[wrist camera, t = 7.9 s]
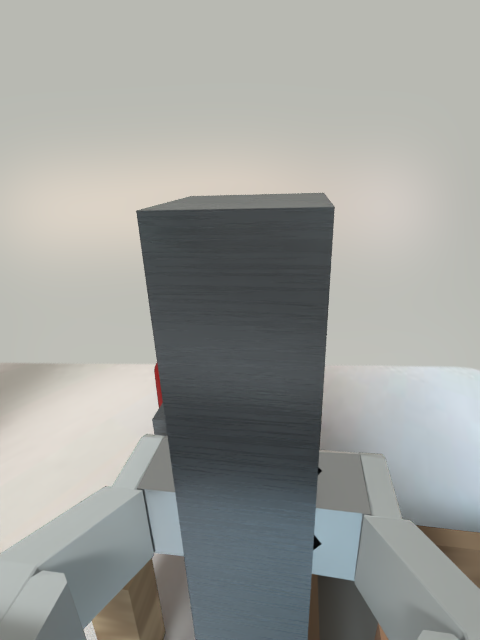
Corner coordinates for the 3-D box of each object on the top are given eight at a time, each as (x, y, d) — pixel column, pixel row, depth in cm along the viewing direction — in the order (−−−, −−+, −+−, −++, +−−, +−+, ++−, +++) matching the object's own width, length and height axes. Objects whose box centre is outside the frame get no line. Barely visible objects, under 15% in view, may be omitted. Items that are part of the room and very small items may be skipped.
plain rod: (108, 675, 20) (79, 582, 17) (127, 625, 22) (105, 534, 19) (149, 683, 20) (128, 590, 17) (165, 631, 22) (148, 540, 19)
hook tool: (20, 703, 11) (-228, 217, 5) (168, 423, 23) (135, 182, 17) (299, 766, 10) (334, 206, 4) (301, 433, 21) (311, 176, 16)
